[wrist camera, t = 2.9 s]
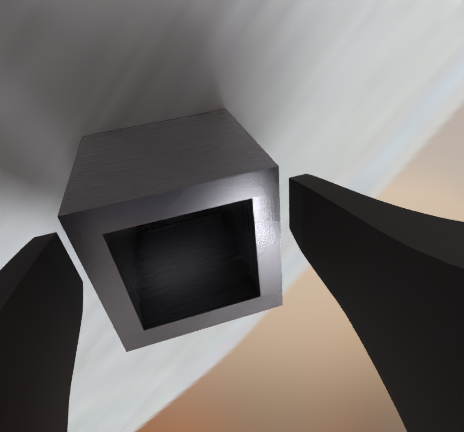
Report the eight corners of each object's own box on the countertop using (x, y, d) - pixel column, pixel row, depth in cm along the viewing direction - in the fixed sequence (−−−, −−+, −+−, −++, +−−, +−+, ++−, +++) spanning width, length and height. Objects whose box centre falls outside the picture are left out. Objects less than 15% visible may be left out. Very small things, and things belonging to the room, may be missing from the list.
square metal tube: (126, 249, 14) (126, 351, 10) (82, 136, 11) (57, 216, 7) (238, 220, 15) (282, 304, 11) (225, 109, 12) (278, 165, 8)
